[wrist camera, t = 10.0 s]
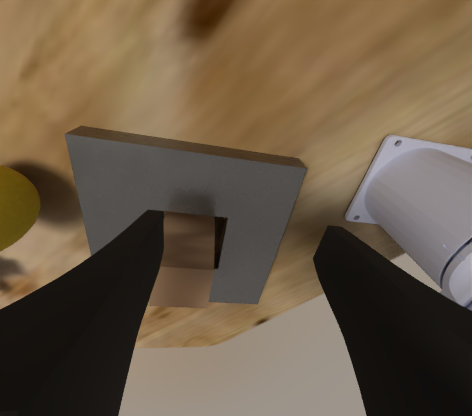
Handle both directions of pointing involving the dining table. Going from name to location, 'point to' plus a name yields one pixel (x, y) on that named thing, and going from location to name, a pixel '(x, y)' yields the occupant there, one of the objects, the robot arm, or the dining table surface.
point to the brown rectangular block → (185, 261)
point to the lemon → (16, 206)
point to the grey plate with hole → (189, 197)
